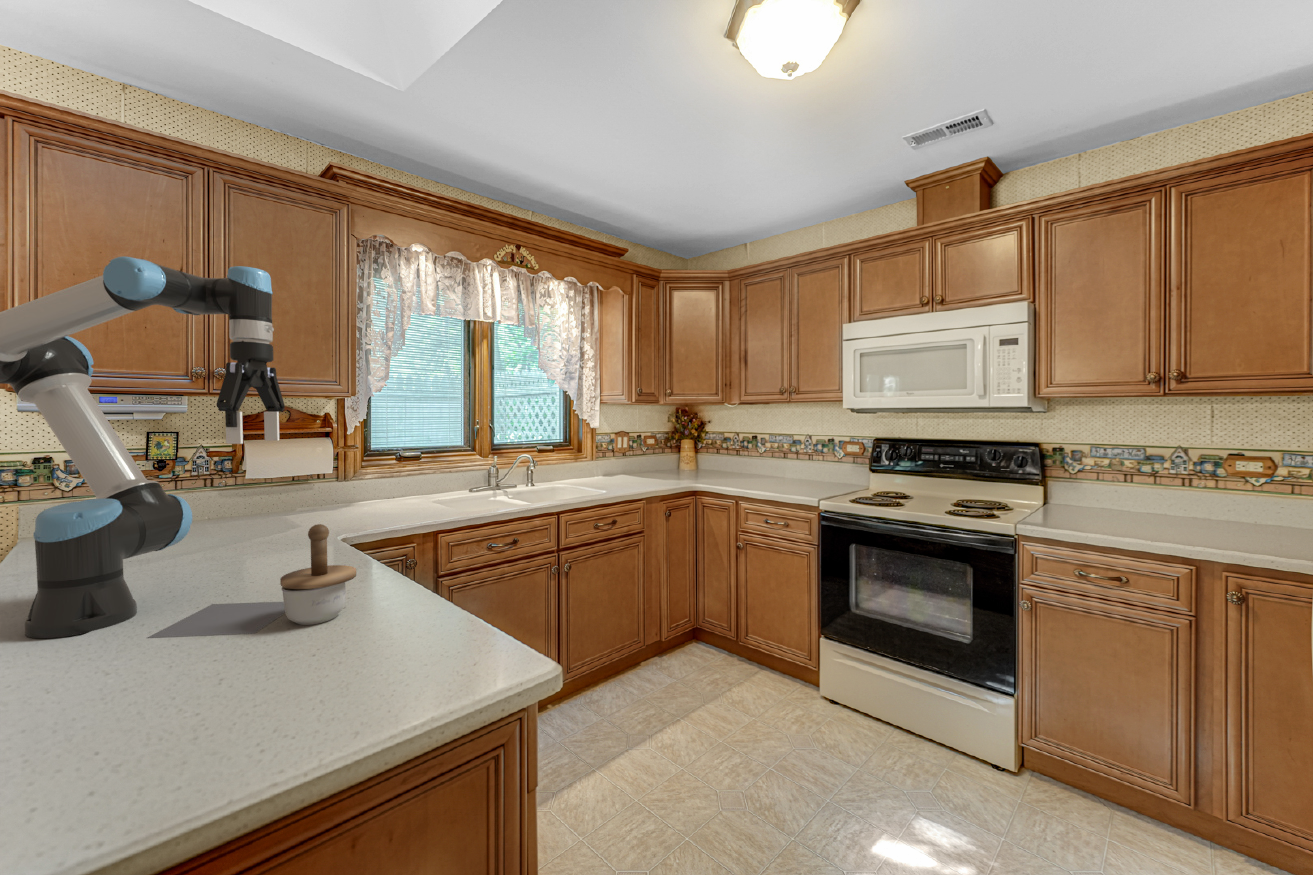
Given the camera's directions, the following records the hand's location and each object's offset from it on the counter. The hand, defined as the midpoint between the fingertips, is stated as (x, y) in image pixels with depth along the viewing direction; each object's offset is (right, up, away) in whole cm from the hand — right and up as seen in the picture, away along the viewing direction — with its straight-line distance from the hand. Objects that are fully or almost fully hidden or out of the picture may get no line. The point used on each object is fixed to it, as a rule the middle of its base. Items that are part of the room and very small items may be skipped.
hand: (254, 442), depth 120 cm
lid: (+19, -27, -8) cm, 34 cm away
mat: (+2, -35, -9) cm, 36 cm away
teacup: (+19, -35, -7) cm, 41 cm away
